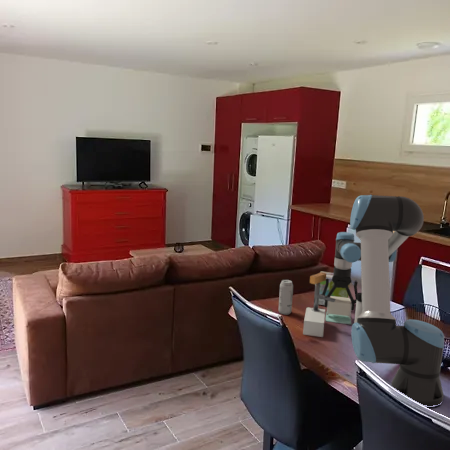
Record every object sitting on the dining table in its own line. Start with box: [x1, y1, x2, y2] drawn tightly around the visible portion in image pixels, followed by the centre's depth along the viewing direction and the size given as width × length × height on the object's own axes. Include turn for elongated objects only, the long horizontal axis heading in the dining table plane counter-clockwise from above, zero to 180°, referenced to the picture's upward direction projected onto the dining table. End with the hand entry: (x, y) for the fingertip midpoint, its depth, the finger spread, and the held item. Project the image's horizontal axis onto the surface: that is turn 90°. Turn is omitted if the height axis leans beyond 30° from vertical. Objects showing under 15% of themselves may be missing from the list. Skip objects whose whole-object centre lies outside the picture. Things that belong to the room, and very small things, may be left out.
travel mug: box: [353, 292, 362, 324], centre depth 179 cm, size 6×7×20 cm
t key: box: [309, 272, 335, 311], centre depth 191 cm, size 10×9×16 cm
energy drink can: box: [278, 279, 294, 316], centre depth 206 cm, size 6×6×15 cm
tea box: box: [318, 271, 351, 306], centre depth 220 cm, size 15×10×15 cm, turn 73°
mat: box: [325, 311, 352, 326], centre depth 202 cm, size 11×11×1 cm
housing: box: [302, 306, 326, 338], centre depth 190 cm, size 16×8×6 cm, turn 166°
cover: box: [328, 296, 351, 316], centre depth 201 cm, size 7×9×6 cm
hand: (338, 315), depth 202 cm, fingers closed on cover, 9 cm apart
